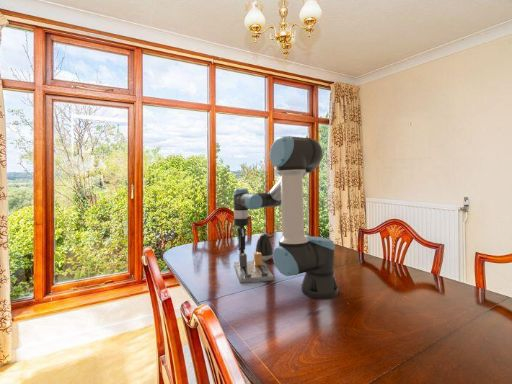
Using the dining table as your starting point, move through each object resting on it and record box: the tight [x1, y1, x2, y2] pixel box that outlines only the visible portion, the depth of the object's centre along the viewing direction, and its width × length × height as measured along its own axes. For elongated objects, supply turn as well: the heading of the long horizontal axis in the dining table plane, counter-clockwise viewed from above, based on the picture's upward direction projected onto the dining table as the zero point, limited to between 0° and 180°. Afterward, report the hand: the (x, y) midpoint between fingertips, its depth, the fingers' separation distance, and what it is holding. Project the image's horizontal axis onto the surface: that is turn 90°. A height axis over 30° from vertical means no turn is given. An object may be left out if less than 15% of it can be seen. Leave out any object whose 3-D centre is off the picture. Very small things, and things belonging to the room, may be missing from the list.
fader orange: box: [253, 252, 262, 266], centre depth 149 cm, size 3×4×6 cm
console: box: [233, 259, 275, 284], centre depth 143 cm, size 24×16×3 cm
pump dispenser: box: [255, 233, 274, 262], centre depth 164 cm, size 10×10×15 cm
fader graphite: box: [238, 253, 248, 267], centre depth 147 cm, size 3×4×6 cm
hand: (241, 261), depth 151 cm, fingers closed
